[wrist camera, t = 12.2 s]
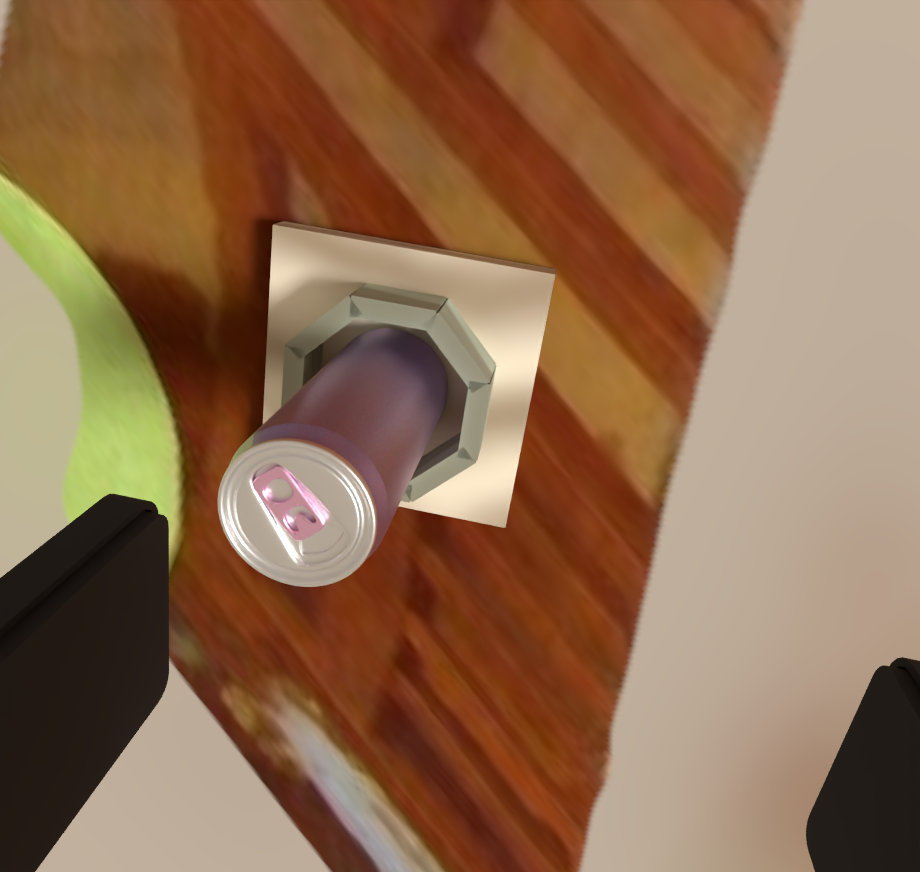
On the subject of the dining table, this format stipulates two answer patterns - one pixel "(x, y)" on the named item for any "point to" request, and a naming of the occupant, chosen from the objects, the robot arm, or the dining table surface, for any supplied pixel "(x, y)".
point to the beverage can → (334, 461)
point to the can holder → (436, 323)
